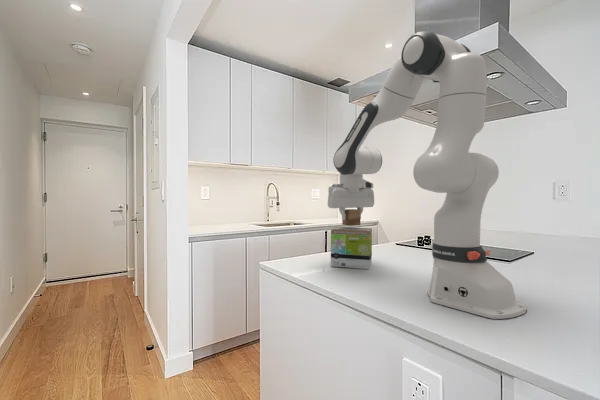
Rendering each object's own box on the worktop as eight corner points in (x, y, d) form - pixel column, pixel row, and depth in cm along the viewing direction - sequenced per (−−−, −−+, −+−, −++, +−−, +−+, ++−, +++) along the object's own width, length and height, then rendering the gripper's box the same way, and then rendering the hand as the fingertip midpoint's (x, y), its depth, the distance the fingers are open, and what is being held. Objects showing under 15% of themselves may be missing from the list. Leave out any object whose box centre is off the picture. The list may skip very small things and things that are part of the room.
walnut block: (360, 225, 121) (360, 209, 121) (349, 225, 118) (349, 210, 118) (352, 224, 125) (352, 209, 125) (342, 224, 123) (342, 209, 123)
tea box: (330, 267, 119) (330, 229, 119) (335, 262, 129) (334, 226, 129) (370, 269, 115) (370, 230, 115) (372, 264, 125) (372, 227, 124)
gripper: (333, 183, 114) (333, 221, 114) (376, 184, 123) (376, 218, 123) (324, 184, 120) (324, 220, 120) (366, 184, 129) (366, 217, 129)
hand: (351, 219), depth 122 cm, fingers closed on walnut block, 5 cm apart
